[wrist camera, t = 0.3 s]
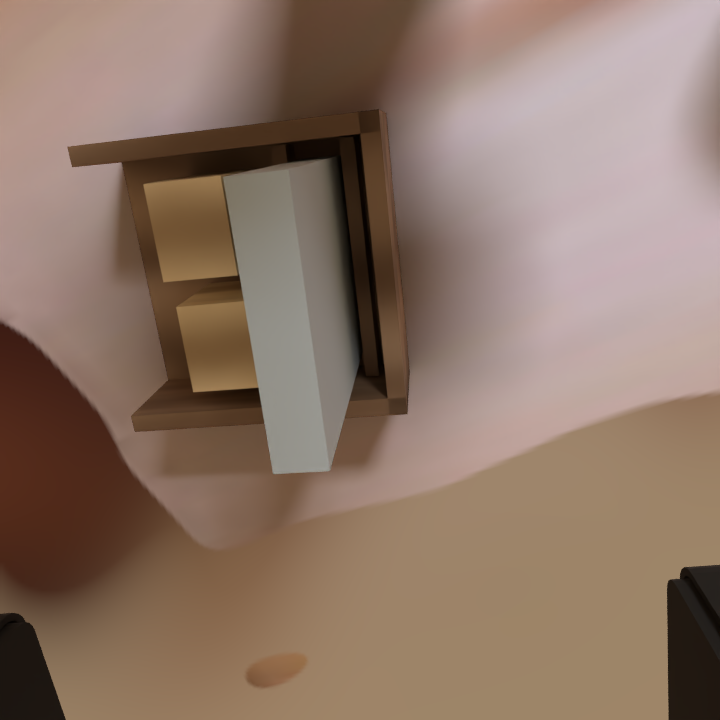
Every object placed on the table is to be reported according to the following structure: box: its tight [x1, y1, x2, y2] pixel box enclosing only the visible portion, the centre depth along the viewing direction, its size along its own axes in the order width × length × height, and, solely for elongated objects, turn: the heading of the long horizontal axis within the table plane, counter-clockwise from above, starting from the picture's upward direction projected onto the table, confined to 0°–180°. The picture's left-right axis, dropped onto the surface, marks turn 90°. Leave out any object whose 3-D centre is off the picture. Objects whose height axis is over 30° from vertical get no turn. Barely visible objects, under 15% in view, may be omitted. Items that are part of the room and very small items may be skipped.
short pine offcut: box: [176, 281, 258, 392], centre depth 40 cm, size 5×4×6 cm
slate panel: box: [223, 155, 363, 474], centre depth 33 cm, size 12×2×16 cm, turn 6°
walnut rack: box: [68, 109, 410, 432], centre depth 39 cm, size 16×16×7 cm
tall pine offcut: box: [143, 168, 255, 282], centre depth 37 cm, size 5×4×7 cm
